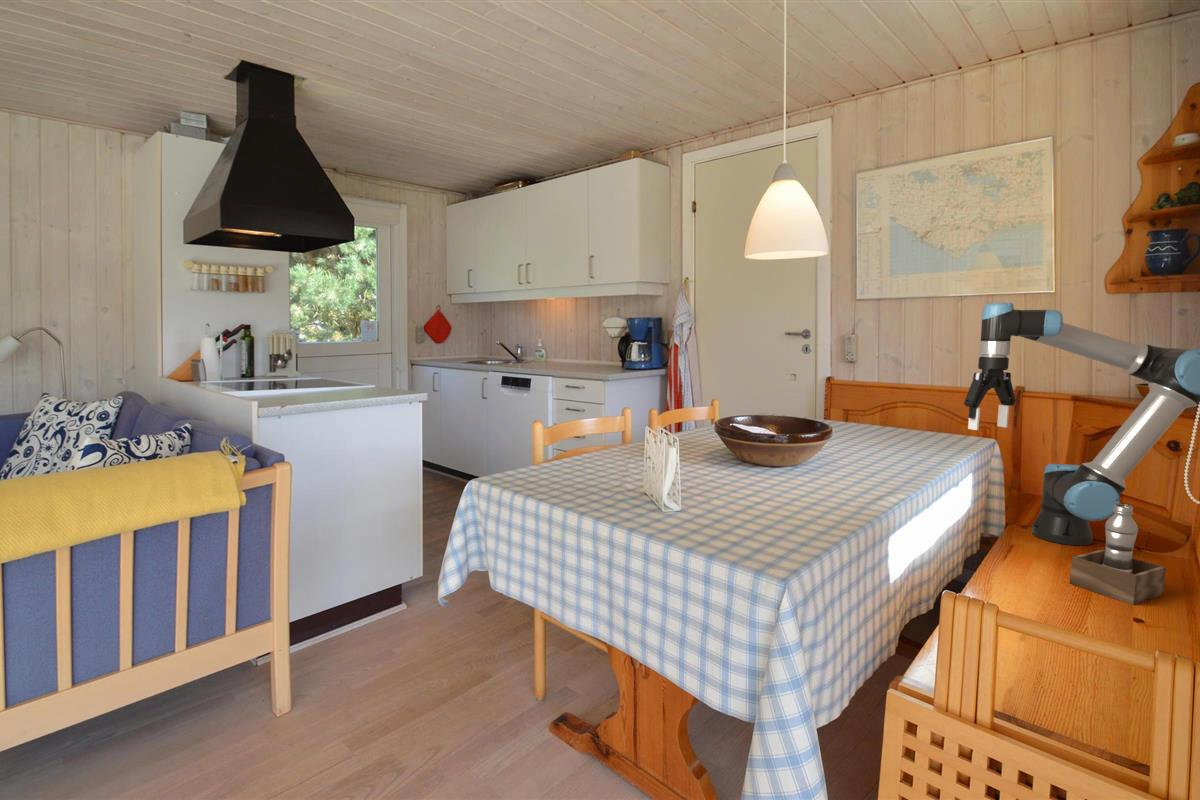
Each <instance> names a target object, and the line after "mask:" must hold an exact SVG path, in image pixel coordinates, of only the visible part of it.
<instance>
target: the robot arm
mask: <svg viewBox="0 0 1200 800" xmlns="http://www.w3.org/2000/svg"><path fill="white" fill-rule="evenodd" d="M1063 318H1064V317H1063V314H1062V313H1061V311H1060V310H1058V309H1055V310H1054V309H1015V308H1014V304H1013V302H988V303H986V304H985V305H984V306H983V309H982V316H981V318H980V319H981V325H980V326H981V328H980V329H981V330H980V342H979V343H980V344H979V351H978V352H979V355H980V356H979V357H978V366H977V368H978V369H979V370H981V372H974V373H973V376H972V381H971V384H970V387H969V389H968V391H967V394H966V396H965V399H964V401H963V404H964V405H965V407H968V408H969V409H968V425H967V429H968V430H972V431H979V430H980V429H979V428H980V417H981V416H980V415H981V407H980V404H981V403H982V401H983V400H984V398H985V396H986V394H987V393H988V392H989V391H990V390H991V389H994V392H995V393H996V395H997V398H998V400H999V403H1000V404H998V411H997V412H998V413H997V424H996V427H999V428H1000V427H1001V428H1008V427H1009V417H1010V416H1009V414H1010V407H1013V406H1014V405H1015V403H1016V397H1015V393H1014V389H1013V383H1012V373H1011V372H1010V371H1009V372H1007V370H1008V369H1009V363H1010V362H1009V361H1010V358H1009V357H1008V356H1009V355H1010V353H1011V340H1012V336H1013V337H1021V338H1023V339H1027V340H1030V341H1033V342H1037V343H1040V344H1043V345H1046V346H1049V347H1052V348H1055V349H1059V350H1063V351H1065V352H1068V353H1072V354H1075V355H1078V356H1082V357H1084V358H1087V359H1091V360H1094V361H1097V362H1100V363H1103V364H1105V365H1110V366H1113V367H1116V368H1119V369H1122V370H1123V371H1124V373H1125V374H1126V375H1129V376H1132V377H1136V378H1138V379H1141V380H1143V381H1145V382H1146V383H1147V382H1148V384H1147V385H1148V389H1149V392H1148V393H1147V395H1145V397H1144V399H1143V400H1142V401H1141V402H1140V403H1139V404H1138V406H1137V407H1135V409H1134V410H1133V411H1132V413H1131V414H1130V415H1129V416H1128V418H1127V419H1126V420H1125V421H1124V422H1123V424H1121V426H1120V427H1119V429H1117V431H1116V432H1115V433H1114V434H1113V435H1112V437H1111V438H1110V439H1109V440H1108V442H1107V443H1106V444H1105V445H1104V447H1103V448H1102V449H1101V450H1100V451H1099V453H1098V454H1097V455H1096V456H1095V457H1094V458H1093V460H1092V461H1090V462H1083V463H1081V464H1080V465H1078V464H1067V463H1066V464H1064V463H1048V464H1046V465H1045V468H1044V472H1043V483H1042V496H1041V505H1040V511H1039V512H1038V515H1037V517H1036V519H1035V521H1034V523H1033V524H1032V528H1031V530H1032V531H1031V534H1033V536H1035V537H1037V538H1039V539H1041V540H1045V541H1047V542H1048V541H1049V542H1052V543H1057V544H1062V545H1069V546H1088V545H1091V544H1093V538H1094V537H1093V532H1092V528H1091V524H1090V522H1089V521H1091V522H1096V521H1099V522H1100V521H1104V520H1106V519H1107V520H1108V519H1109V518H1110V517H1111V516H1113V515H1114V512H1113V510H1114V505H1115V504H1121V501H1120V500H1121V499H1120V496H1121V495H1122V494H1123V492H1124V491H1125V490H1126V489H1127V486H1126V482H1125V480H1126V478H1127V477H1128V476H1129V475H1130V474H1131V473H1132V471H1133V470H1134V469H1135V468H1136V467H1137V466H1138V464H1139V463H1140V462H1141V461H1142V460H1143V458H1144V457H1145V456H1146V455H1147V454H1148V453H1149V452H1150V450H1151V449H1152V448H1153V447H1154V446H1155V445H1156V443H1157V442H1158V441H1159V440H1160V438H1162V437H1163V435H1164V434H1165V433H1166V431H1168V430H1169V428H1170V427H1171V426H1172V425H1173V423H1174V422H1175V421H1176V420H1177V419H1178V418H1179V416H1180V415H1181V414H1182V413H1183V412H1184V411H1185V410H1186V409H1189V408H1195V407H1197V406H1198V405H1199V404H1200V348H1195V349H1193V348H1192V349H1191V348H1190V349H1187V348H1175V347H1174V348H1173V347H1161V346H1155V345H1151V344H1147V343H1139V344H1134V343H1131V342H1127V341H1125V340H1122V339H1117V338H1115V337H1111V336H1109V335H1104V334H1101V333H1099V332H1095V331H1092V330H1089V329H1085V328H1082V327H1080V326H1075V325H1072V324H1069V323H1067V322H1066V323H1065V322H1064V319H1063ZM1005 371H1006V372H1005Z"/></svg>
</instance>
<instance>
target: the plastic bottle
mask: <svg viewBox="0 0 1200 800" xmlns="http://www.w3.org/2000/svg"><path fill="white" fill-rule="evenodd" d="M1113 512H1114V514H1113V515H1112V516H1111V517H1109V518H1107V520H1106V522H1105V525H1104V529H1105V550H1106V551H1105V555H1104V560H1103V563H1102V565H1104V566H1107V567H1110V568H1114V569H1117V570H1121V571H1124V572H1127V573H1131V574H1133V569H1132V558H1133V554H1134V552H1133V551H1134V548H1135V547H1134V546H1135V542H1136V539H1137V536H1138V531H1139V527H1138V524H1137V523H1136V521H1135V520H1134V518H1133V517H1132V516H1133V515H1134V506H1132V505H1128V504H1124V503H1122V504H1121V503H1120V504H1115V505H1114V510H1113Z"/></svg>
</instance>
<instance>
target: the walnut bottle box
mask: <svg viewBox="0 0 1200 800" xmlns="http://www.w3.org/2000/svg"><path fill="white" fill-rule="evenodd" d="M1105 551H1106V549H1099V550H1095V551H1091V552H1087V553H1082V554H1079V555H1074V556H1072V557H1071V565H1070V574H1069V582H1068V583H1069V585H1071V584H1072V586H1074V585H1075V587H1077V586H1078V587H1077V588H1080V587H1081V589H1083V588H1084V590H1086V589H1087V590H1086V591H1089V590H1090V592H1092V591H1093V593H1095V592H1096V594H1099V595H1101V596H1105V597H1108V598H1111V599H1113V598H1115V599H1114V600H1116V599H1118V600H1117V601H1119V600H1120V602H1122V601H1124V602H1123V603H1125V602H1126V604H1128V603H1129V604H1128V605H1131V604H1132V605H1131V606H1135V605H1137V603H1138V604H1140V602H1141V603H1143V601H1144V602H1146V600H1147V601H1150V600H1153V599H1155V597H1156V598H1158V596H1159V597H1161V595H1162V596H1163V595H1164V589H1165V581H1166V574H1167V573H1166V571H1167V566H1163V565H1159V564H1155V563H1152V562H1147V561H1145V560H1141V559H1137V558H1134V557H1132V569H1133V574H1131V573H1127V572H1124V571H1121V570H1117V569H1114V568H1110V567H1107V566H1104V565H1102V563H1103V560H1104V555H1105ZM1152 598H1153V599H1152ZM1149 599H1150V600H1149ZM1134 604H1135V605H1134Z"/></svg>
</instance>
